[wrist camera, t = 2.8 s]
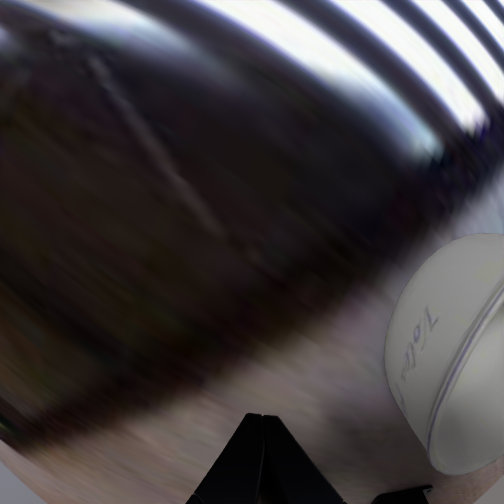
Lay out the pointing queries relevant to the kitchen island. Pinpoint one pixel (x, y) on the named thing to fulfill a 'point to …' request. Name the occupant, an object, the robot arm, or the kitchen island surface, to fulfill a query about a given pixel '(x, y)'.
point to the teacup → (452, 354)
